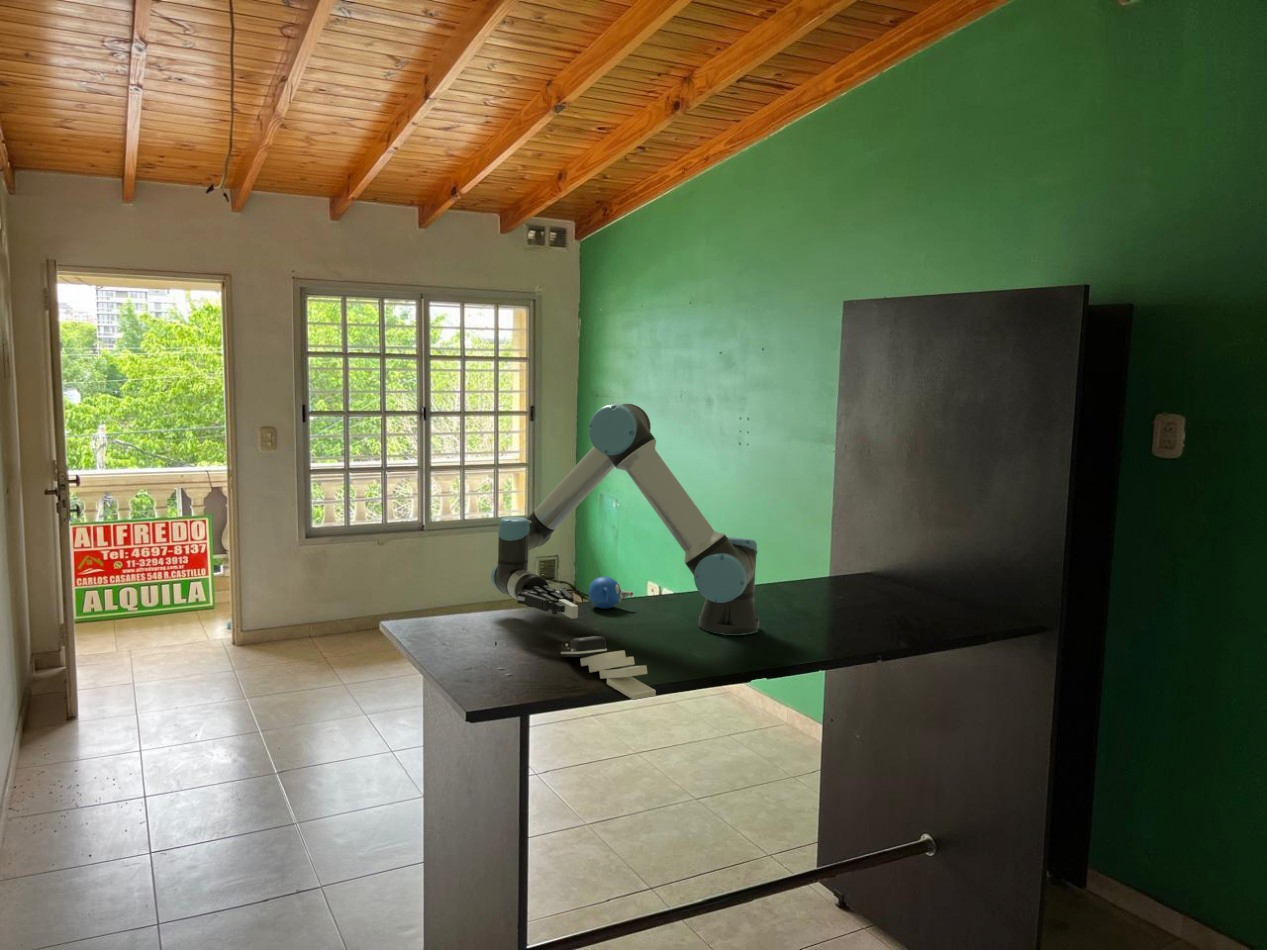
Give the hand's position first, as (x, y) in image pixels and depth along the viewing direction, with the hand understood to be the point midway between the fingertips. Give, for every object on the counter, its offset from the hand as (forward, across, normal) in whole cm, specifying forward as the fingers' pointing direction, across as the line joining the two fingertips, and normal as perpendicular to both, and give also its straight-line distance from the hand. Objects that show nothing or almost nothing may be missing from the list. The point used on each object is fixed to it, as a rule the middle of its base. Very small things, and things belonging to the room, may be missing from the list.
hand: (574, 612), depth 192 cm
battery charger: (0, 0, -8) cm, 8 cm away
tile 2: (+12, 0, -9) cm, 15 cm away
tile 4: (+19, 0, -9) cm, 21 cm away
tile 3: (+16, 0, -9) cm, 18 cm away
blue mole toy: (-32, -28, -10) cm, 43 cm away
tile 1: (+8, 0, -9) cm, 12 cm away
